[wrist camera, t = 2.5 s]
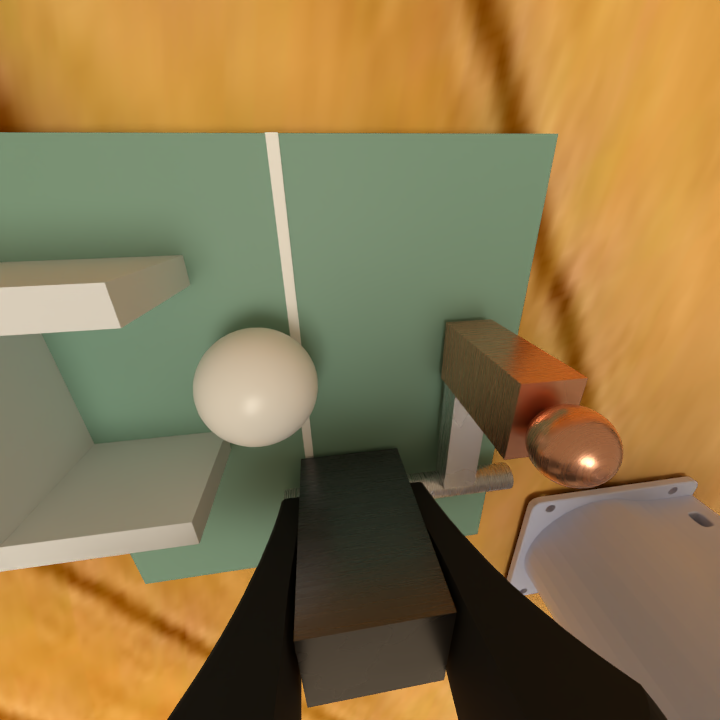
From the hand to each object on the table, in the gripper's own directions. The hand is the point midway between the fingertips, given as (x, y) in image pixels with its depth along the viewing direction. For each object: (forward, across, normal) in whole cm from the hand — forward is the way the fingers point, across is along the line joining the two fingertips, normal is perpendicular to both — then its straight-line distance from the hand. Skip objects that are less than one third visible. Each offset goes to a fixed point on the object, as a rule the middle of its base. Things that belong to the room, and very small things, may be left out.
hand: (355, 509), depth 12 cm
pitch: (+2, +2, -4) cm, 5 cm away
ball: (0, +2, -6) cm, 6 cm away
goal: (+1, +7, -6) cm, 9 cm away
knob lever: (+1, -2, -2) cm, 3 cm away
